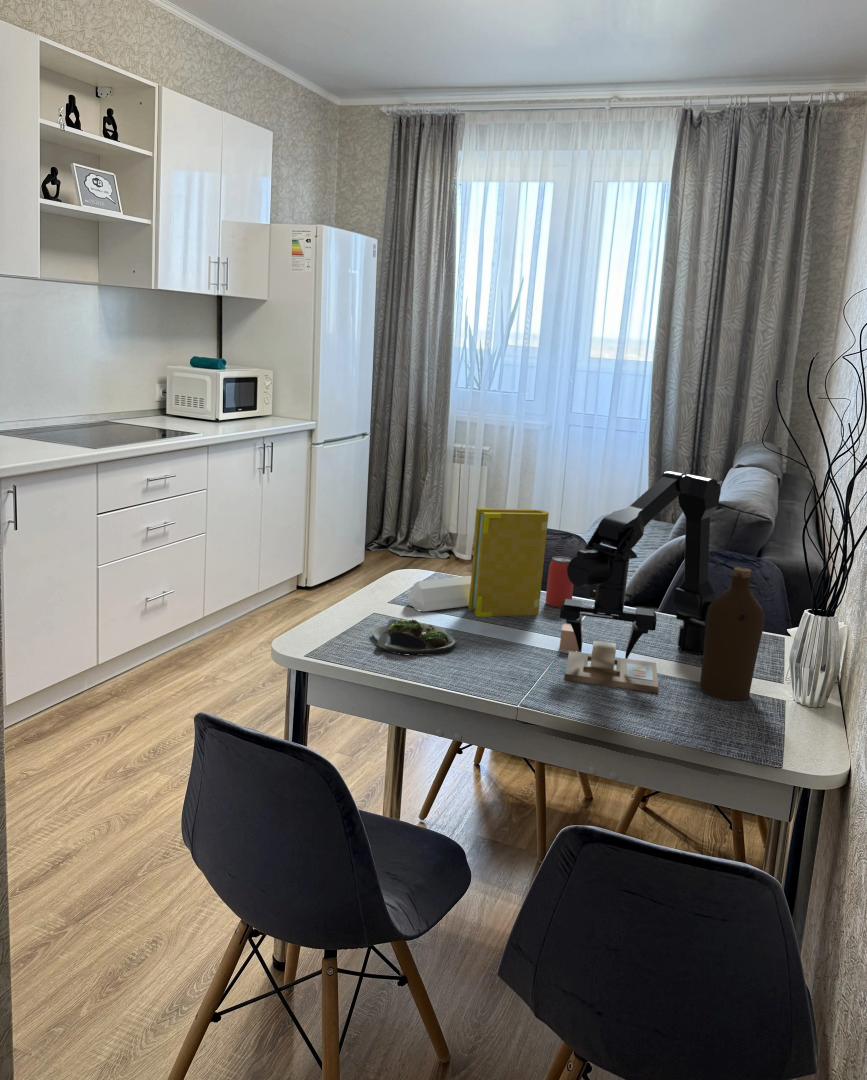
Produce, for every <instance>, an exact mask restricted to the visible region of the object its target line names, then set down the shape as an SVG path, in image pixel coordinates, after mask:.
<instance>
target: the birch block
mask: <svg viewBox="0 0 867 1080" xmlns="http://www.w3.org/2000/svg"><path fill="white" fill-rule="evenodd" d="M616 653H617V643H615V642H607V641H600V640H599V641H598V640H593V644H592V652H591V654H592V659H591V667H598V668H605V669H612V670H614V661H615V657H616Z"/></svg>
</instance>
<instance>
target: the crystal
mask: <svg viewBox="0 0 867 1080" xmlns="http://www.w3.org/2000/svg"><path fill="white" fill-rule="evenodd" d="M471 577H472V575H465V576H456V577H445V578H436V579H435V578H434V579H428V580H427V579H426V580H418V581H417V582H415V583H413V586H412V587H411V589H410V592H409V593H408V596H407V599H408V604H410V605H409V607H410V606H412V607H414V608H416V609H418V610H421V611H423V612H430V611H431V612H432V611H437V610H438V611H439V610H445V609H454V608H462V607H468V605H469V595H470V589H471ZM412 607H411V608H412ZM414 608H413V609H414ZM416 609H415V610H416ZM418 610H417V611H418Z"/></svg>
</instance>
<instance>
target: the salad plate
mask: <svg viewBox="0 0 867 1080" xmlns="http://www.w3.org/2000/svg"><path fill="white" fill-rule="evenodd" d="M422 632H426V634H422ZM371 633H372V636H373V638H375V640H376V641H377V642H376V646H377V647H379V648H382V649H383V650H384V651H386V650H388V651H391V652H395V653H400V654H409V655H414V656H421V655H420V654H435V655H441V654H440V653H442V654H446V653H449V652H450V651H451V650H453V649H454V648H455V646H456V644H457V643H456V639H455V638H453V637H452V636H451V635H449V634H448V633H447V632H446V631H445V630H443V628H441V627H439V626H437V625H435V624H433V625H432V624H428V623H427V624H426V623H420V622H419V621H417V620H416V619H414V618H412V619H409V620H404V618H400V619H398V620H397V619H394V618H393V619H392V618H391V619H389V620H388V623H387V625H381V626H378V627H376V628H375V627H374V629H372V631H371ZM388 651H387V652H388ZM448 651H449V652H448ZM391 652H390V653H391ZM445 652H446V653H445ZM418 654H419V655H418ZM409 655H408V656H409Z"/></svg>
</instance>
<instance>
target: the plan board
mask: <svg viewBox="0 0 867 1080" xmlns="http://www.w3.org/2000/svg"><path fill="white" fill-rule="evenodd" d="M591 659H592V653H589V652H582V651H581V652H575V651H568V656H567V661H566V666H565V672H564V679H563V680H565V681H573V682H579V683H585V684H594V685H599V686H608V687H613V686H614V687H613V688H620V687H621V689H628V690H633V691H634V690H636V691H642V692H651V693H657V694H658V693H659V679H658V667H657V662H653V661H646V660H638V659H633V658H632V659H630V658H627V659H626V658H625V657H624V658H623V657H616V656H615V661H614V670H612V669H605V668H598V667H591Z"/></svg>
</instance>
